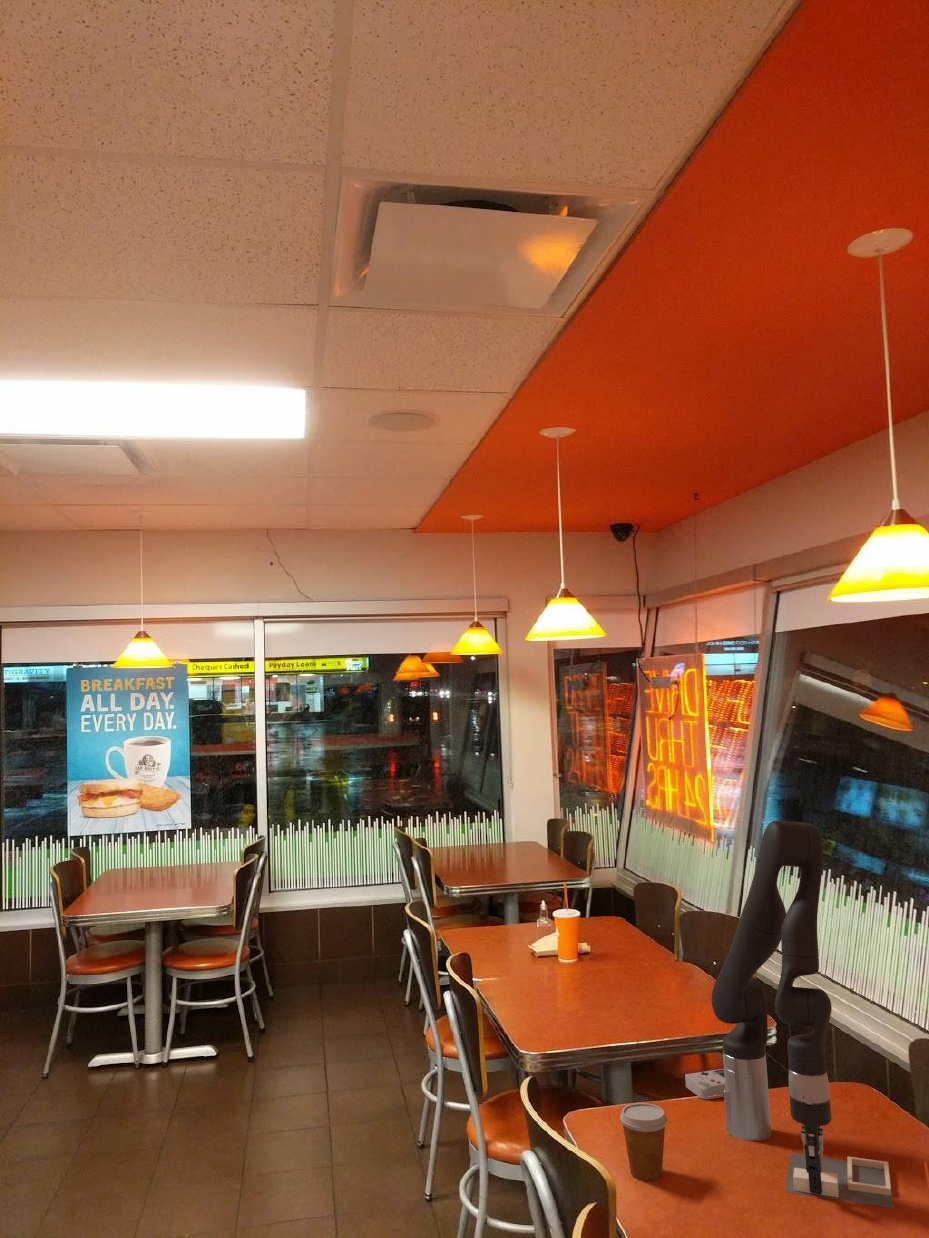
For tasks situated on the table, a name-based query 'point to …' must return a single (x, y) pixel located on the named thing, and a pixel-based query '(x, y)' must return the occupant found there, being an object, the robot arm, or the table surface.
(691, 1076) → the handheld gaming device
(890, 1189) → the mat
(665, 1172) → the table surface
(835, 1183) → the tile
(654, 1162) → the disposable coffee cup
